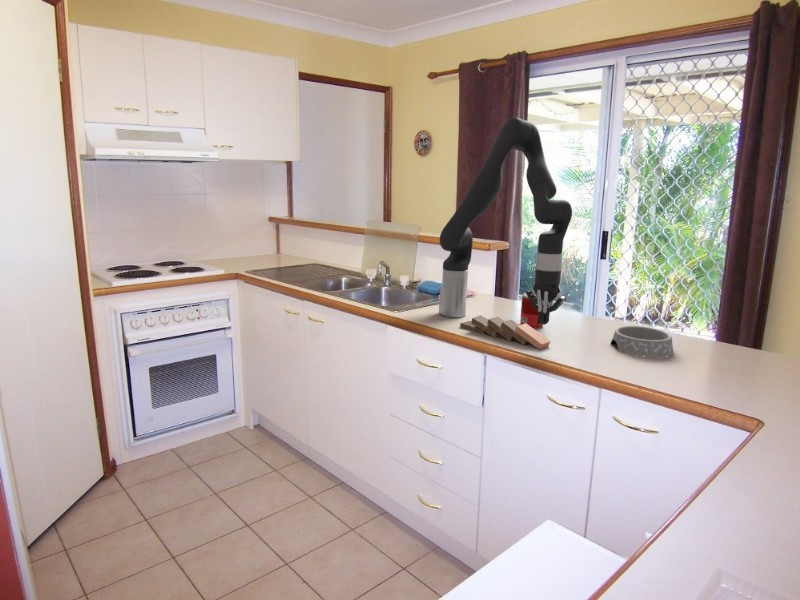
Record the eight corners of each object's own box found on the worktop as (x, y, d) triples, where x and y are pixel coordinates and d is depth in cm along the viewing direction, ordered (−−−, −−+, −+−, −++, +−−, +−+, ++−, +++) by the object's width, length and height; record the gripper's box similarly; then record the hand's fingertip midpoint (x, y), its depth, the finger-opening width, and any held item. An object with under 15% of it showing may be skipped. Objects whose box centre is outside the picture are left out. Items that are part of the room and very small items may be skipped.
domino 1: (483, 335, 180) (460, 328, 187) (492, 332, 183) (469, 326, 190) (483, 329, 179) (460, 323, 186) (492, 327, 183) (469, 320, 190)
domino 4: (523, 345, 169) (500, 327, 174) (532, 342, 172) (509, 324, 178) (526, 340, 168) (502, 322, 173) (535, 337, 171) (511, 319, 177)
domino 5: (539, 349, 165) (514, 331, 171) (548, 346, 168) (523, 328, 174) (542, 344, 164) (517, 326, 170) (550, 341, 167) (526, 323, 173)
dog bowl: (624, 358, 160) (627, 340, 159) (603, 339, 178) (605, 323, 177) (682, 359, 160) (685, 342, 159) (655, 341, 178) (657, 325, 177)
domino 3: (509, 341, 172) (486, 324, 178) (518, 338, 176) (495, 321, 182) (512, 336, 172) (488, 319, 177) (521, 333, 175) (498, 316, 181)
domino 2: (494, 337, 176) (470, 323, 182) (503, 333, 180) (479, 320, 185) (496, 331, 175) (472, 318, 181) (504, 328, 179) (480, 315, 185)
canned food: (542, 329, 187) (545, 298, 184) (518, 327, 189) (521, 296, 187) (544, 324, 194) (546, 294, 191) (521, 321, 196) (523, 291, 194)
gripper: (575, 269, 159) (569, 326, 163) (536, 263, 169) (531, 317, 173) (561, 272, 154) (555, 330, 158) (522, 265, 164) (517, 321, 168)
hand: (543, 323), depth 166 cm, fingers closed
